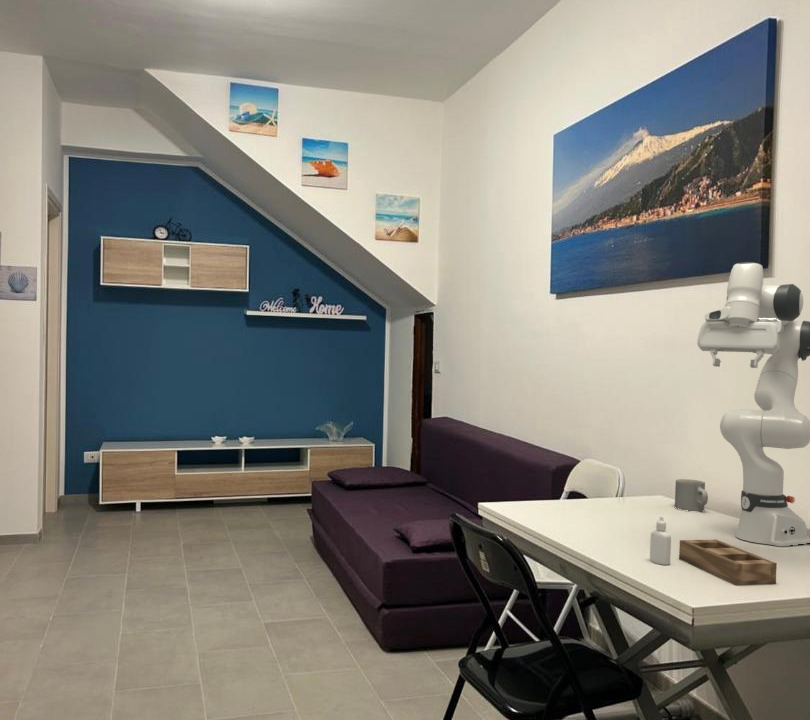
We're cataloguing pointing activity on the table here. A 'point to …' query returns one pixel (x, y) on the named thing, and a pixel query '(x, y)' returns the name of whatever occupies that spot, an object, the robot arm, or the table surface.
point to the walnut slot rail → (728, 562)
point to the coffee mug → (690, 495)
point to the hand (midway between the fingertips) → (734, 366)
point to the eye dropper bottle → (660, 544)
